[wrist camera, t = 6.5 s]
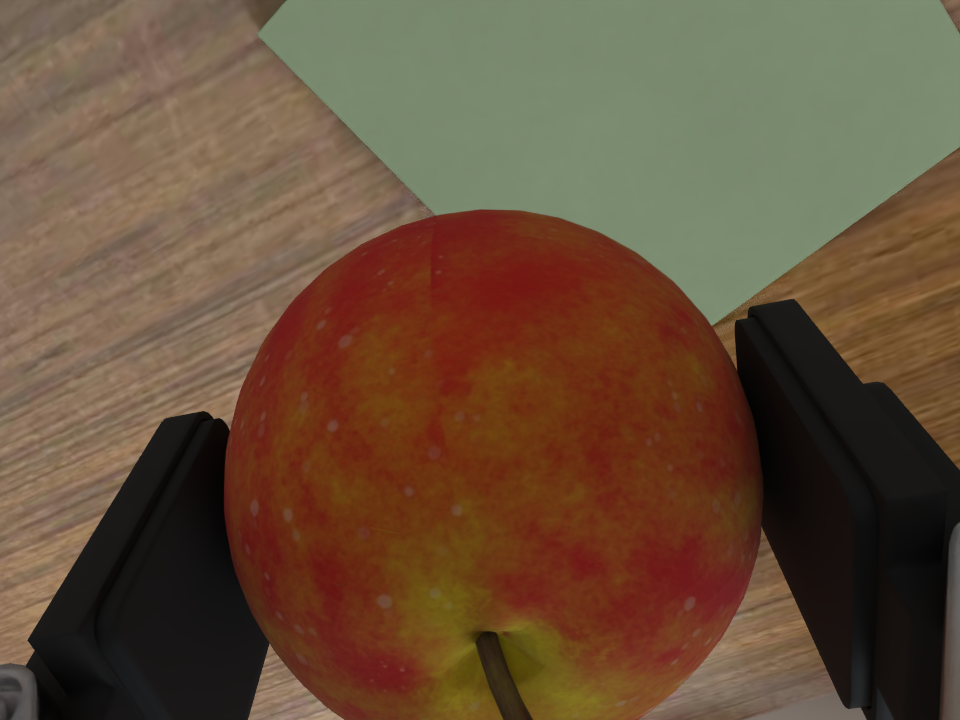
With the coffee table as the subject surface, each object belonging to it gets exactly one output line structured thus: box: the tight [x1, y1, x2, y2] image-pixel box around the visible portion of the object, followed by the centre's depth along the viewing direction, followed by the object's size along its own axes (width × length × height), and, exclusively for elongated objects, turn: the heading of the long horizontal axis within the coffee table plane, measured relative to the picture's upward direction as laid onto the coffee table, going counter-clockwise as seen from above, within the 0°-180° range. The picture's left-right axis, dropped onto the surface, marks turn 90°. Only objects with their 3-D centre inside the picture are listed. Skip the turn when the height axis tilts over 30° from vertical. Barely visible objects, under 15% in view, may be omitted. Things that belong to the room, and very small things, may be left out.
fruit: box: [224, 209, 764, 720], centre depth 10 cm, size 7×7×8 cm
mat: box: [257, 0, 960, 326], centre depth 25 cm, size 18×16×1 cm
